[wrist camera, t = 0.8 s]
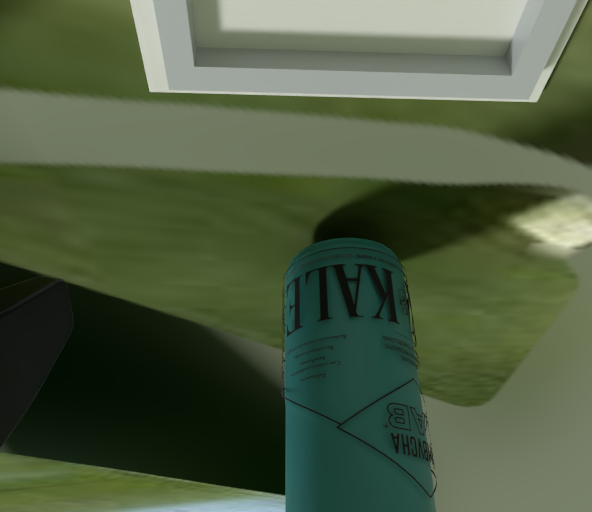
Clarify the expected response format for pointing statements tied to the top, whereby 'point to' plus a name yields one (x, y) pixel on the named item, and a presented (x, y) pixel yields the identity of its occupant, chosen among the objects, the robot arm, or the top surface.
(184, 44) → the white square tray
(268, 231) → the top surface
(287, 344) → the beverage bottle
